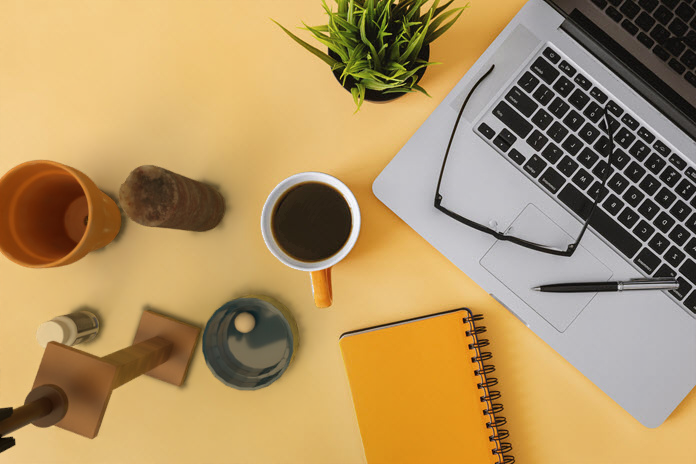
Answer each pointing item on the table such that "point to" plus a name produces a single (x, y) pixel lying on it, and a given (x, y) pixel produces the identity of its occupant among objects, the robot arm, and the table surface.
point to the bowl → (250, 343)
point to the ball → (244, 322)
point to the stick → (38, 409)
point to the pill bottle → (68, 329)
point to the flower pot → (53, 215)
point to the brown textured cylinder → (170, 200)
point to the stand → (116, 369)
